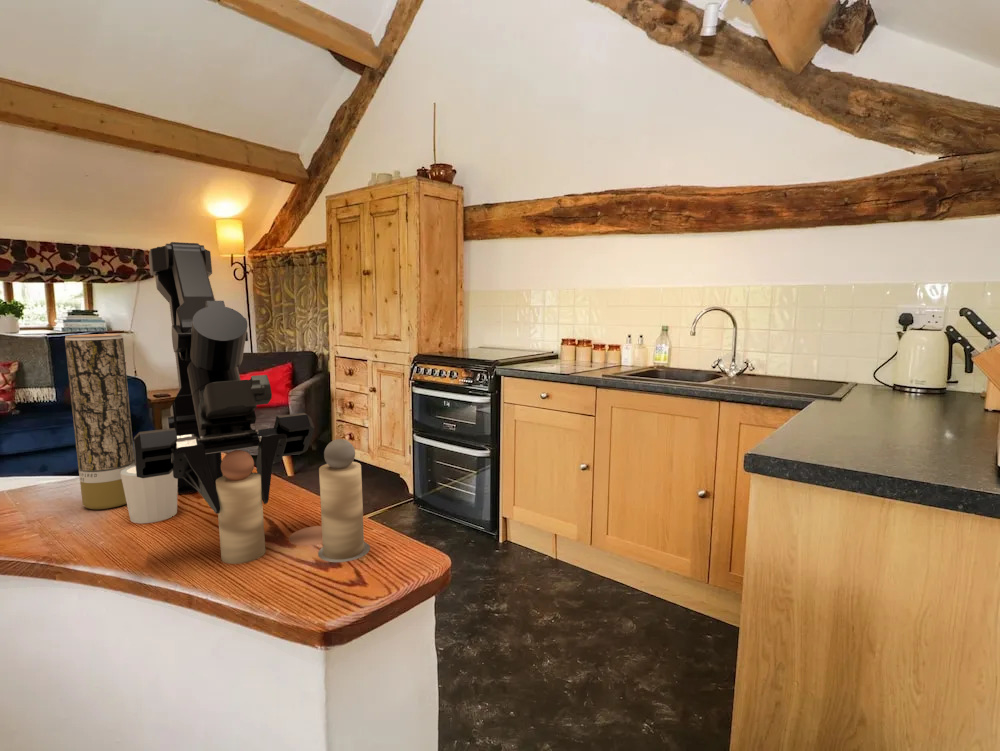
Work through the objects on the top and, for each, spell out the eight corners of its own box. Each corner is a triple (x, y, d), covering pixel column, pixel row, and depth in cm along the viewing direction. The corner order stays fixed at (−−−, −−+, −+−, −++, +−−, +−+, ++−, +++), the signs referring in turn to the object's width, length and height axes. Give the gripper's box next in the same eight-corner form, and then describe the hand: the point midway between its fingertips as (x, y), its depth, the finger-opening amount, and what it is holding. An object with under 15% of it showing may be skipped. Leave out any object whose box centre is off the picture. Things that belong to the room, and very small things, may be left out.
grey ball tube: (358, 539, 68) (354, 432, 66) (368, 553, 64) (364, 441, 62) (319, 547, 66) (314, 437, 64) (327, 562, 62) (322, 446, 60)
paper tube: (110, 512, 80) (92, 337, 76) (70, 509, 81) (51, 336, 78) (148, 496, 86) (134, 334, 83) (111, 493, 87) (95, 333, 84)
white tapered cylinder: (121, 514, 79) (117, 466, 78) (177, 503, 83) (173, 457, 82) (128, 529, 74) (123, 478, 73) (187, 516, 78) (183, 468, 77)
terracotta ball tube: (263, 550, 67) (256, 443, 66) (268, 566, 63) (260, 452, 62) (221, 559, 65) (212, 448, 63) (222, 575, 61) (214, 458, 59)
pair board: (273, 544, 69) (272, 536, 69) (323, 527, 74) (323, 519, 74) (332, 577, 60) (332, 569, 60) (385, 555, 66) (384, 547, 66)
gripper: (126, 358, 59) (141, 487, 51) (306, 348, 70) (340, 454, 62) (129, 419, 66) (143, 539, 59) (291, 402, 77) (321, 502, 70)
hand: (242, 506), depth 62 cm, fingers closed on terracotta ball tube, 5 cm apart
